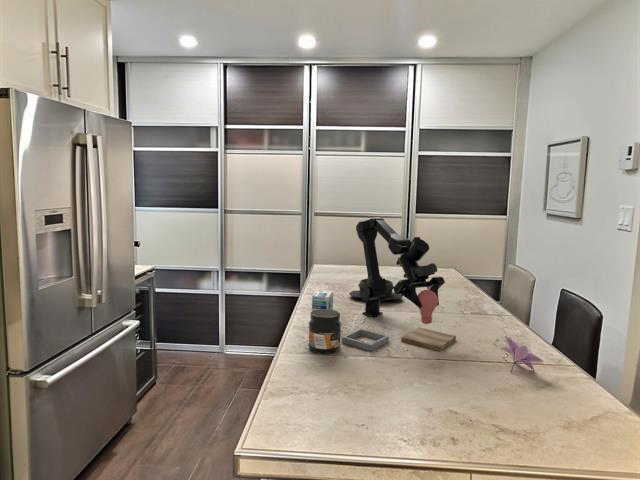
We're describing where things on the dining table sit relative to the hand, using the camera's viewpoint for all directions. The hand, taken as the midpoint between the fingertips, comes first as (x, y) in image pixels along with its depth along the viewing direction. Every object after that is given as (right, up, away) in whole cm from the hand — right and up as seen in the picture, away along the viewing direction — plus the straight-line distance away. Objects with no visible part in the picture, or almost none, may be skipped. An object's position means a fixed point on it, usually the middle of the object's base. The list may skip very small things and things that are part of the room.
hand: (429, 306), depth 151 cm
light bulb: (-1, -7, +2) cm, 7 cm away
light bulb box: (-36, -9, +24) cm, 44 cm away
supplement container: (-36, -13, -6) cm, 39 cm away
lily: (+22, -16, -19) cm, 33 cm away
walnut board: (+1, -12, +3) cm, 13 cm away
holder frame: (-22, -12, 0) cm, 25 cm away
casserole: (-11, -5, +58) cm, 60 cm away
